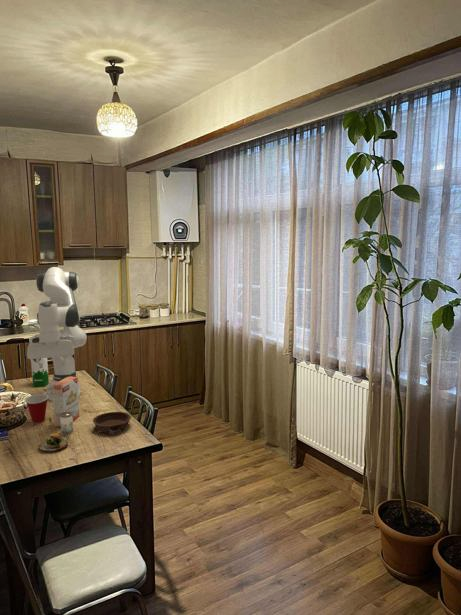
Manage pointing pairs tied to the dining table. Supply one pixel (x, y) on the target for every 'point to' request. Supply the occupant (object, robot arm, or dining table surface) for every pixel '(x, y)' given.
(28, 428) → the dining table surface
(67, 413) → the tea canister
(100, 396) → the dining table surface
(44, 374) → the milk carton
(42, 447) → the burger
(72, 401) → the cracker box
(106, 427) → the dish
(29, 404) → the plastic cup
